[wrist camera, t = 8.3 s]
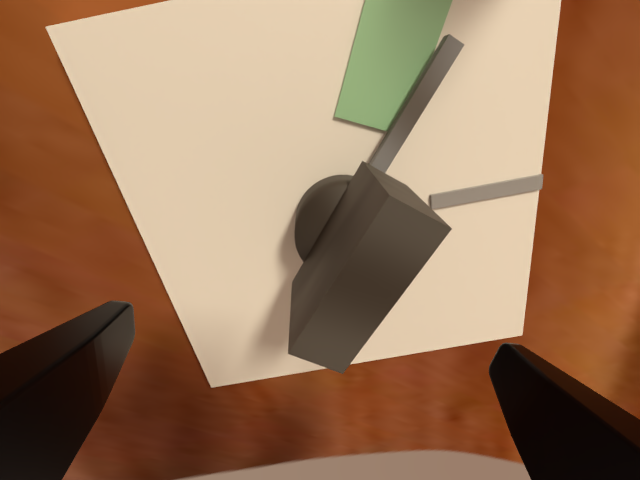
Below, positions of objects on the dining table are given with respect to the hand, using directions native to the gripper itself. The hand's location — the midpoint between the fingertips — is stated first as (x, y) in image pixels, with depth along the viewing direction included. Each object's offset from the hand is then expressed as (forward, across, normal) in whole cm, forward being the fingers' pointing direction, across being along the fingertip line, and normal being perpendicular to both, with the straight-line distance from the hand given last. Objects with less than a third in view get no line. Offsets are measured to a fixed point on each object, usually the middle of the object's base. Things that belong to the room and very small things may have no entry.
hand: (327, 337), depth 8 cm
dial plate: (+12, -2, +1) cm, 12 cm away
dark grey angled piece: (+10, -3, -2) cm, 11 cm away
